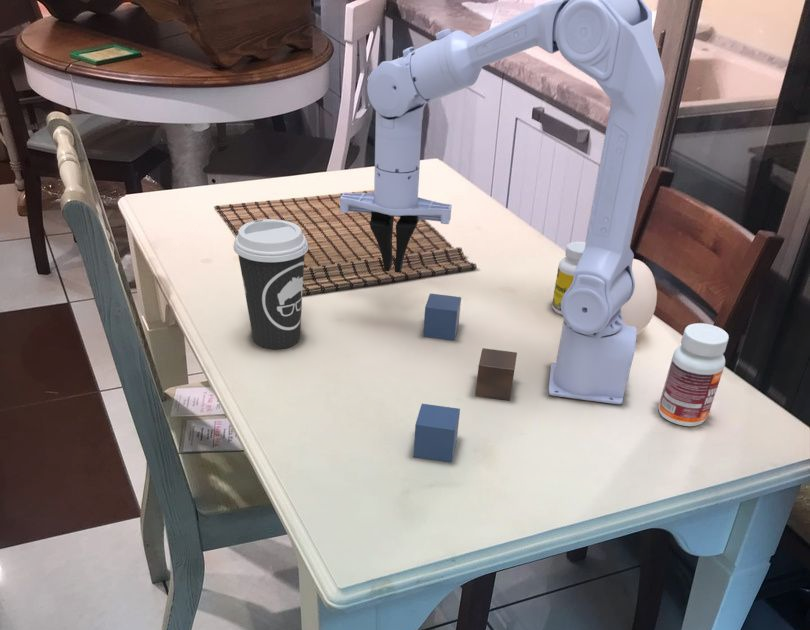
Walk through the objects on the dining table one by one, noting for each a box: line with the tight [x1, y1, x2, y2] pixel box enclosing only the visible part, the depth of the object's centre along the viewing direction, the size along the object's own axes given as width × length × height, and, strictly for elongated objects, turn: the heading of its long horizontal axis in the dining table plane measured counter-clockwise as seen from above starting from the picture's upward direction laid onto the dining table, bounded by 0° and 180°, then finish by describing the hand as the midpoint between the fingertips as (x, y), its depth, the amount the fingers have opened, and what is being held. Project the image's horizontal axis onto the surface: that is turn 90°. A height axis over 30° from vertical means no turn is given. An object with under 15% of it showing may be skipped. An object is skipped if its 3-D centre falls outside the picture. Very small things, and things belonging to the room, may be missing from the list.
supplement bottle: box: [551, 241, 586, 316], centre depth 124 cm, size 5×5×10 cm
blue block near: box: [412, 403, 461, 463], centre depth 96 cm, size 4×4×4 cm
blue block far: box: [422, 293, 462, 341], centre depth 118 cm, size 4×4×4 cm
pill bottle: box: [658, 322, 730, 427], centre depth 102 cm, size 6×6×11 cm
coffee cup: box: [233, 218, 309, 350], centre depth 111 cm, size 10×10×15 cm
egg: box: [621, 258, 658, 335], centre depth 117 cm, size 9×9×12 cm
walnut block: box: [474, 347, 518, 401], centre depth 107 cm, size 4×4×4 cm
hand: (393, 268), depth 115 cm, fingers closed
